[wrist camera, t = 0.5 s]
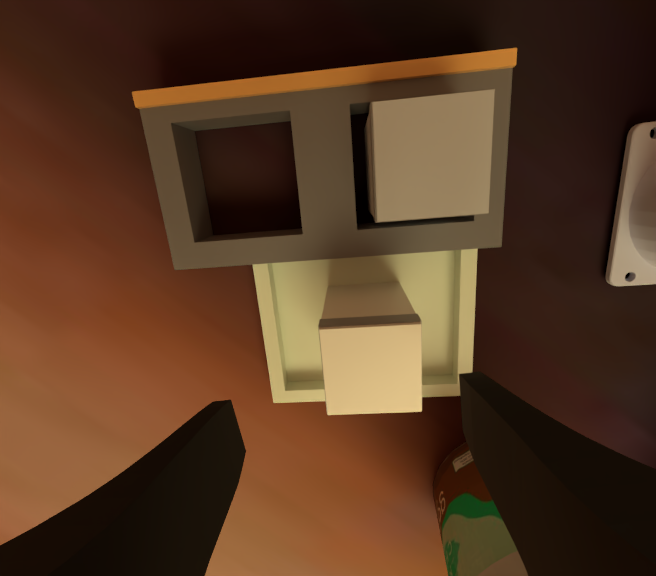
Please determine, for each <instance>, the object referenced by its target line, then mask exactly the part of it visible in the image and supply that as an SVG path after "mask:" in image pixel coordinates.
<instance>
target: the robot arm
mask: <svg viewBox="0 0 656 576" xmlns="http://www.w3.org/2000/svg"><path fill="white" fill-rule="evenodd" d="M652 129H654V132H655V134H654V136H653V137H652V138H651V137H650V131H651V130H652ZM629 272H630V275H629V277H628V278H627V279H625V276H626V274H628V273H629ZM606 281H607V283H609V284H611V285H613V286H631V285H648V284H656V121H655V122H645V123H640V124H637V125H635V126H633V127H632V128H631V129H630V131H629V132H628V135H627V141H626V147H625V154H624V160H623V167H622V173H621V180H620V186H619V192H618V199H617V205H616V212H615V218H614V225H613V231H612V238H611V244H610V251H609V257H608V264H607V270H606ZM459 383H460V397H461V411H462V426H463V432H464V435H465V438H466V441H467V444H468V447H469V450H470V452H471V455H472V458H473V460H474V463H475V465H476V467H477V469H478V471H479V473H480V475H481V477H482V479H483V482H484V484H485V486H486V488H487V490H488V492H489V494H490V496H491V498H492V500H493V502H494V504H495V506H496V508H497V510H498V512H499V514H500V516H501V518H502V520H503V522H504V524H505V526H506V528H507V530H508V532H509V534H510V536H511V538H512V540H513V542H514V544H515V546H516V548H517V551H518V553H519V555H520V557H521V559H522V562H523V564H524V566H525V569H526V571H527V574H528V576H656V469H654V468H652V467H649V466H647V465H644V464H642V463H640V462H637V461H635V460H633V459H631V458H628V457H626V456H624V455H622V454H620V453H618V452H616V451H614V450H611V449H609V448H607V447H605V446H603V445H601V444H599V443H597V442H595V441H593V440H591V439H589V438H587V437H585V436H583V435H581V434H579V433H577V432H576V431H574V430H572V429H570V428H568V427H567V426H565V425H563V424H561V423H560V422H558V421H556V420H554V419H553V418H551V417H549V416H548V415H546V414H544V413H543V412H541V411H539V410H538V409H536V408H534V407H533V406H531V405H530V404H528V403H526V402H525V401H523V400H522V399H520V398H519V397H517V396H516V395H514V394H513V393H511V392H510V391H508V390H507V389H505V388H504V387H502V386H501V385H499V384H498V383H496V382H495V381H493V380H492V379H490V378H489V377H487V376H486V375H484V374H483V373H481V372H472V373H463V374H459ZM245 453H246V450H245V446H244V443H243V440H242V436H241V433H240V429H239V426H238V422H237V419H236V415H235V412H234V409H233V405H232V402H231V400H224V401H215V402H212V403H211V404H209V405H208V406H206V407H205V408H204V409H202V410H201V411H200V412H198V413H197V414H196V415H195V416H193V417H192V418H191V419H190V420H188V421H187V422H186V423H185V424H184V425H182V426H181V427H180V428H179V429H177V430H176V431H175V432H174V433H172V434H171V435H170V436H169V437H168V438H166V439H165V440H164V441H163V442H161V443H160V444H159V445H158V446H156V447H155V448H154V449H152V450H151V451H150V452H148V453H147V454H146V455H144V456H143V457H142V458H141V459H139V460H138V461H137V462H135V463H134V464H133V465H131V466H130V467H129V468H127V469H126V470H125V471H123V472H122V473H120V474H119V475H118V476H116V477H115V478H113V479H112V480H110V481H109V482H107V483H106V484H104V485H103V486H101V487H100V488H98V489H97V490H95V491H94V492H92V493H91V494H89V495H88V496H86V497H85V498H83V499H81V500H80V501H78V502H77V503H75V504H73V505H71V506H70V507H68V508H66V509H65V510H63V511H61V512H60V513H58V514H56V515H54V516H53V517H51V518H49V519H48V520H46V521H44V522H43V523H41V524H39V525H38V526H36V527H34V528H32V529H30V530H28V531H27V532H25V533H23V534H21V535H19V536H17V537H15V538H14V539H12V540H10V541H8V542H6V543H4V544H2V545H0V576H205V573H206V570H207V567H208V564H209V561H210V558H211V555H212V553H213V550H214V547H215V545H216V542H217V540H218V537H219V534H220V532H221V529H222V526H223V524H224V521H225V518H226V516H227V513H228V510H229V508H230V505H231V502H232V500H233V497H234V494H235V491H236V489H237V486H238V483H239V479H240V475H241V471H242V467H243V462H244V458H245Z"/></svg>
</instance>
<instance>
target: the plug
mask: <svg viewBox="0 0 656 576" xmlns="http://www.w3.org/2000/svg"><path fill="white" fill-rule="evenodd" d="M318 330H319V340H320V350H321V360H322V370H323V380H324V390H325V400H326V410H327V414H328V415H343V414H371V413H399V412H422V321H421V319H420V317H419V315H418V314H416V313H415V311H414V309H413V307H412V305H411V303H410V301H409V299H408V297H407V296H406V294H405V292H404V290H403V288H402V286H401V284H400V282H386V283H371V284H356V285H340V286H328V287H327V292H326V297H325V303H324V308H323V313H322V318H321V319H320V320H319V325H318Z"/></svg>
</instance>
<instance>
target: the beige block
mask: <svg viewBox="0 0 656 576" xmlns="http://www.w3.org/2000/svg"><path fill="white" fill-rule="evenodd" d="M494 94H495V89H489V90H479V91H470V92H460V93H451V94H441V95H432V96H423V97H413V98H404V99H394V100H385V101H375V102H370V105H369V115H368V118H367V121H366V125H365V128H364V136H365V156H366V177H367V197H368V210H369V212H370V213H371V214H372V216H373V217H374V221H375V223H379V222H391V221H404V220H417V219H430V218H442V217H455V216H468V215H480V214H488V213H489V194H490V174H491V154H492V134H493V114H494Z"/></svg>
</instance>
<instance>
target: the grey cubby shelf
mask: <svg viewBox="0 0 656 576" xmlns="http://www.w3.org/2000/svg"><path fill="white" fill-rule="evenodd" d="M516 59H517V48H511V49H502V50H493V51H485V52H476V53H467V54H458V55H450V56H441V57H432V58H423V59H415V60H406V61H397V62H388V63H380V64H371V65H362V66H353V67H345V68H336V69H327V70H318V71H310V72H301V73H292V74H283V75H275V76H266V77H257V78H249V79H240V80H231V81H222V82H214V83H205V84H196V85H187V86H179V87H170V88H161V89H152V90H144V91H135V92H132V95H133V99H134V104H135V107H136V108H139V110H140V114H141V119H142V123H143V128H144V133H145V137H146V142H147V146H148V151H149V155H150V160H151V164H152V169H153V174H154V178H155V183H156V187H157V192H158V196H159V201H160V205H161V210H162V215H163V219H164V224H165V228H166V233H167V237H168V242H169V246H170V251H171V256H172V260H173V265H174V269H175V270H183V269H197V268H211V267H225V266H239V265H253V264H267V263H281V262H295V261H309V260H324V259H338V258H352V257H366V256H380V255H394V254H408V253H422V252H436V251H450V250H464V249H478V248H493V247H501V246H502V230H503V214H504V198H505V182H506V166H507V150H508V134H509V118H510V102H511V86H512V70H513V67H514V66H516ZM489 89H495V94H494V114H493V134H492V154H491V174H490V194H489V213H488V214H480V215H468V216H455V217H442V218H430V219H417V220H404V221H391V222H379V223H364V224H357V221H356V204H355V187H354V170H353V153H352V137H351V120H350V115H354V114H364V113H369V105H370V102H375V101H385V100H394V99H404V98H413V97H423V96H432V95H441V94H451V93H460V92H470V91H479V90H489ZM286 121H291V126H292V136H293V145H294V155H295V164H296V174H297V183H298V193H299V202H300V212H301V222H302V228H300V229H287V230H274V231H262V232H249V233H236V234H223V235H213V230H212V225H211V219H210V213H209V208H208V202H207V197H206V191H205V186H204V180H203V175H202V169H201V164H200V158H199V153H198V147H197V141H196V136H195V131H199V130H209V129H219V128H228V127H238V126H248V125H257V124H267V123H277V122H286Z"/></svg>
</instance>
